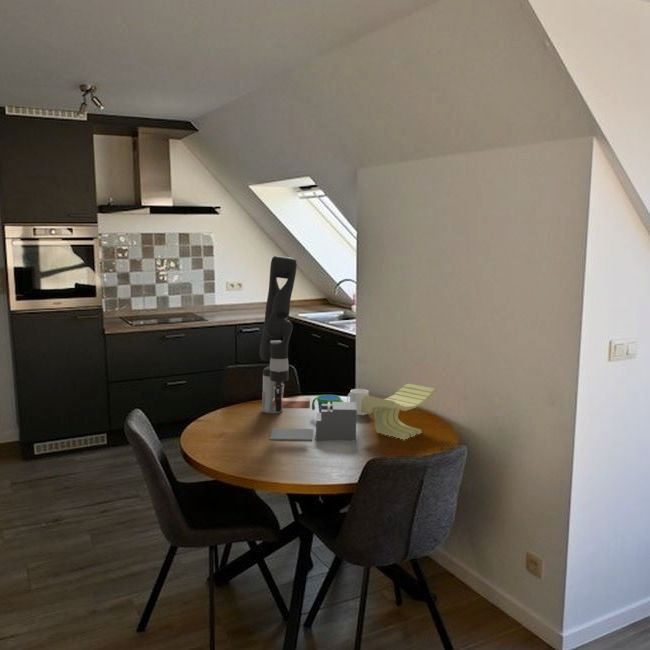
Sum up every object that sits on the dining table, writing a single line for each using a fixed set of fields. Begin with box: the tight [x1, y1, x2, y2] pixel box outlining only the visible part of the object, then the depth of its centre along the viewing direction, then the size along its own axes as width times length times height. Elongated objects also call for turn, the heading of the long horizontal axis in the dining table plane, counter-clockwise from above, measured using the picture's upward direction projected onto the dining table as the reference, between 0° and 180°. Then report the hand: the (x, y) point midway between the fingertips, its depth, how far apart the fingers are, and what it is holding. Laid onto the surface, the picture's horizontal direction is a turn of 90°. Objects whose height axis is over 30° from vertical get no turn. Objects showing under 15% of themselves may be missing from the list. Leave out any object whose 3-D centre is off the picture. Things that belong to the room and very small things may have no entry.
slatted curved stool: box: [361, 383, 436, 441], centre depth 267 cm, size 30×16×18 cm, turn 139°
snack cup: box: [311, 394, 345, 413], centre depth 286 cm, size 16×10×10 cm
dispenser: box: [315, 401, 357, 442], centre depth 262 cm, size 16×12×13 cm
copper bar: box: [272, 397, 311, 409], centre depth 261 cm, size 15×5×3 cm, turn 90°
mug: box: [346, 388, 370, 416], centre depth 297 cm, size 9×12×11 cm
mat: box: [269, 427, 314, 442], centre depth 263 cm, size 17×14×1 cm
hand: (278, 409), depth 261 cm, fingers closed on copper bar, 5 cm apart
